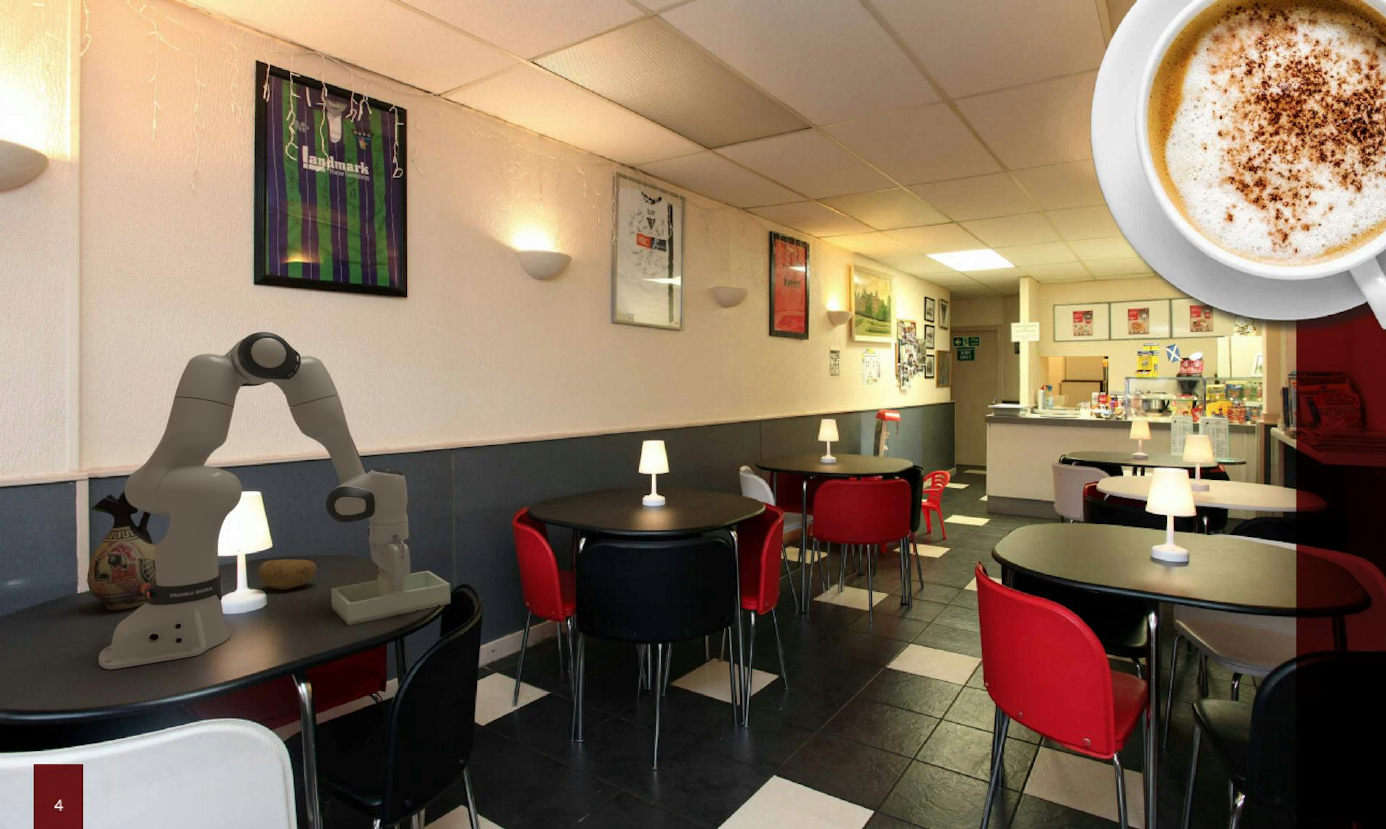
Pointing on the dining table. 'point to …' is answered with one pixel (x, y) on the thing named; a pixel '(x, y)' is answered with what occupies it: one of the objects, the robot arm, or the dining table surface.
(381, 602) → the tote
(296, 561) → the potato
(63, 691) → the dining table surface
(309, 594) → the dining table surface
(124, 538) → the ceramic jug
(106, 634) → the dining table surface
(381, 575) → the carton
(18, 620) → the dining table surface
